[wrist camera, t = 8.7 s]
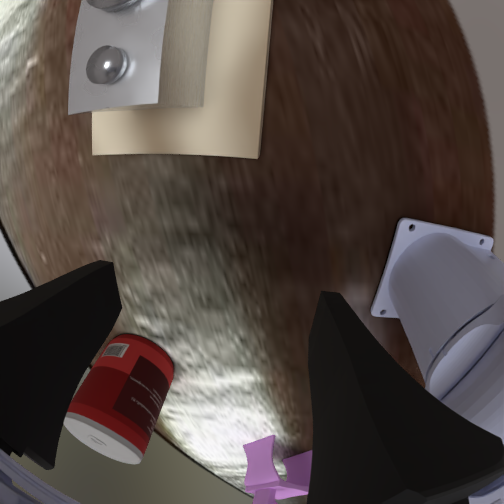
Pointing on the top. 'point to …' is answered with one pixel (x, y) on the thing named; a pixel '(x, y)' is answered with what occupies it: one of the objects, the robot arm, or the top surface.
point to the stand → (206, 96)
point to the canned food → (121, 398)
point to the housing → (139, 55)
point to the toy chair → (275, 473)
